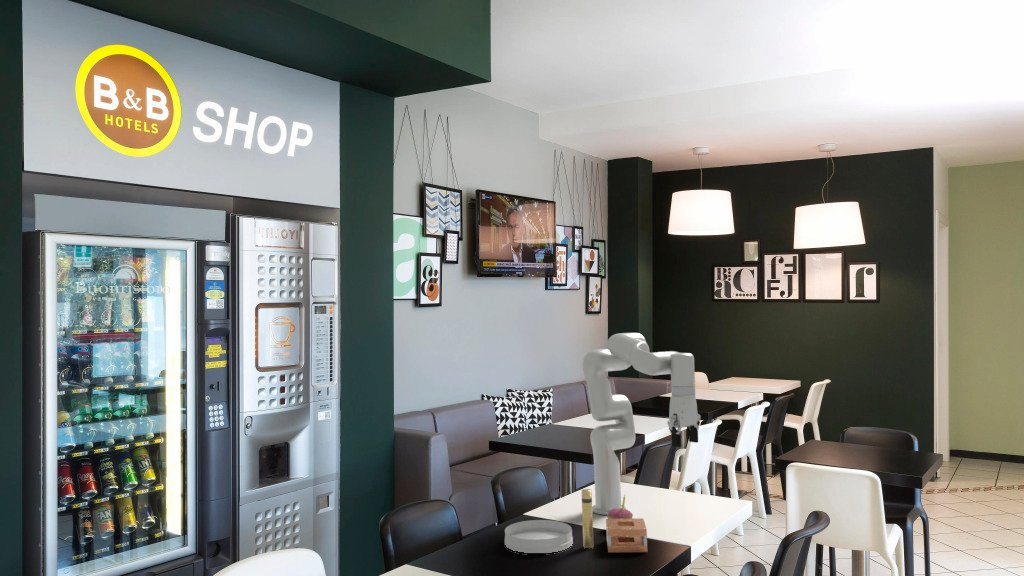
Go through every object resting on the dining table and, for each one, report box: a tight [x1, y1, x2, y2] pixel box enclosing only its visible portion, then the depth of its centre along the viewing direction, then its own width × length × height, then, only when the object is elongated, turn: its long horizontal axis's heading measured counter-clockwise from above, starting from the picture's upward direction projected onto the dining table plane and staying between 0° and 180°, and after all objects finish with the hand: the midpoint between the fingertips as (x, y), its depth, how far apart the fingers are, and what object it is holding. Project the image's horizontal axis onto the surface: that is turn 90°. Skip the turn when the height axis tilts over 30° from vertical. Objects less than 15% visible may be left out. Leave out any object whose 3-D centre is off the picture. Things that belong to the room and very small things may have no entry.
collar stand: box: [605, 518, 648, 553], centre depth 242 cm, size 12×12×7 cm
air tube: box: [581, 488, 595, 550], centre depth 242 cm, size 3×3×18 cm
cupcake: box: [606, 494, 634, 519], centre depth 260 cm, size 9×8×12 cm
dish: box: [504, 519, 574, 553], centre depth 247 cm, size 22×22×5 cm
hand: (685, 444), depth 247 cm, fingers open, 9 cm apart
